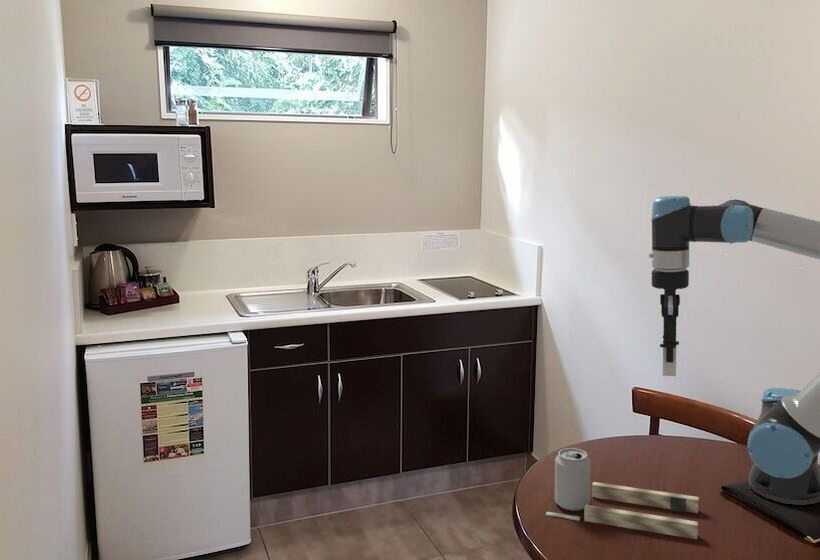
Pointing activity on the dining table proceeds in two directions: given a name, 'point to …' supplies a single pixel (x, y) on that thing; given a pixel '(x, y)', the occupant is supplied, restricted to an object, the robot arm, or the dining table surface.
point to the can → (572, 479)
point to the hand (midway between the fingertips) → (669, 374)
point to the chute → (640, 519)
